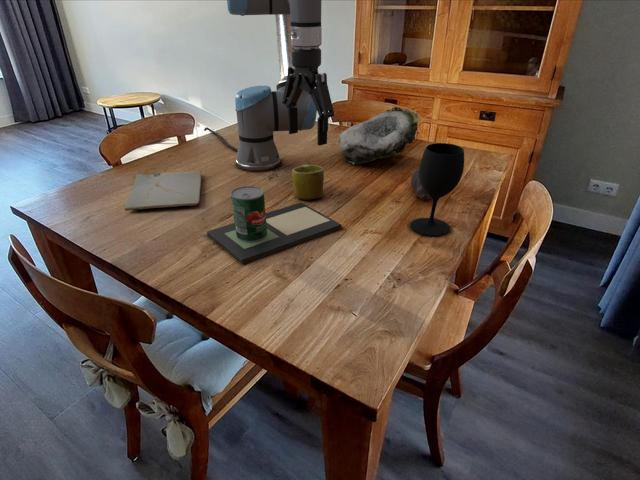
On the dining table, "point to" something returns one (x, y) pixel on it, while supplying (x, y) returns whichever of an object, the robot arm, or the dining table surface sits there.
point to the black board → (276, 232)
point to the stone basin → (379, 136)
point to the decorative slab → (164, 190)
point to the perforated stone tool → (418, 186)
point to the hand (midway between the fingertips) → (307, 138)
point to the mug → (308, 182)
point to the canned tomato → (249, 213)
